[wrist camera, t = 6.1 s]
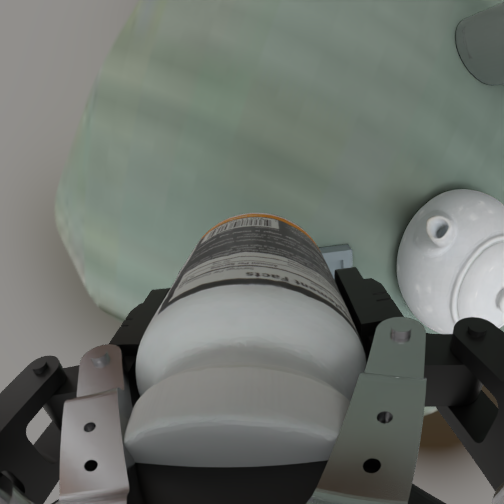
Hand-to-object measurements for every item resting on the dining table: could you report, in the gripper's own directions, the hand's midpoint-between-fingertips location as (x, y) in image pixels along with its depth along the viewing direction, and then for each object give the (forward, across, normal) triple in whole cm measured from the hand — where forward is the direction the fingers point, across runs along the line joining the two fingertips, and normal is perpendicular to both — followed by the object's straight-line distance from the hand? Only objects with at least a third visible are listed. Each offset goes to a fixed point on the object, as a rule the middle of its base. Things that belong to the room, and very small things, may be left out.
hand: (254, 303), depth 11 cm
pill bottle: (+3, 0, 0) cm, 3 cm away
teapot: (+24, -23, +10) cm, 34 cm away
